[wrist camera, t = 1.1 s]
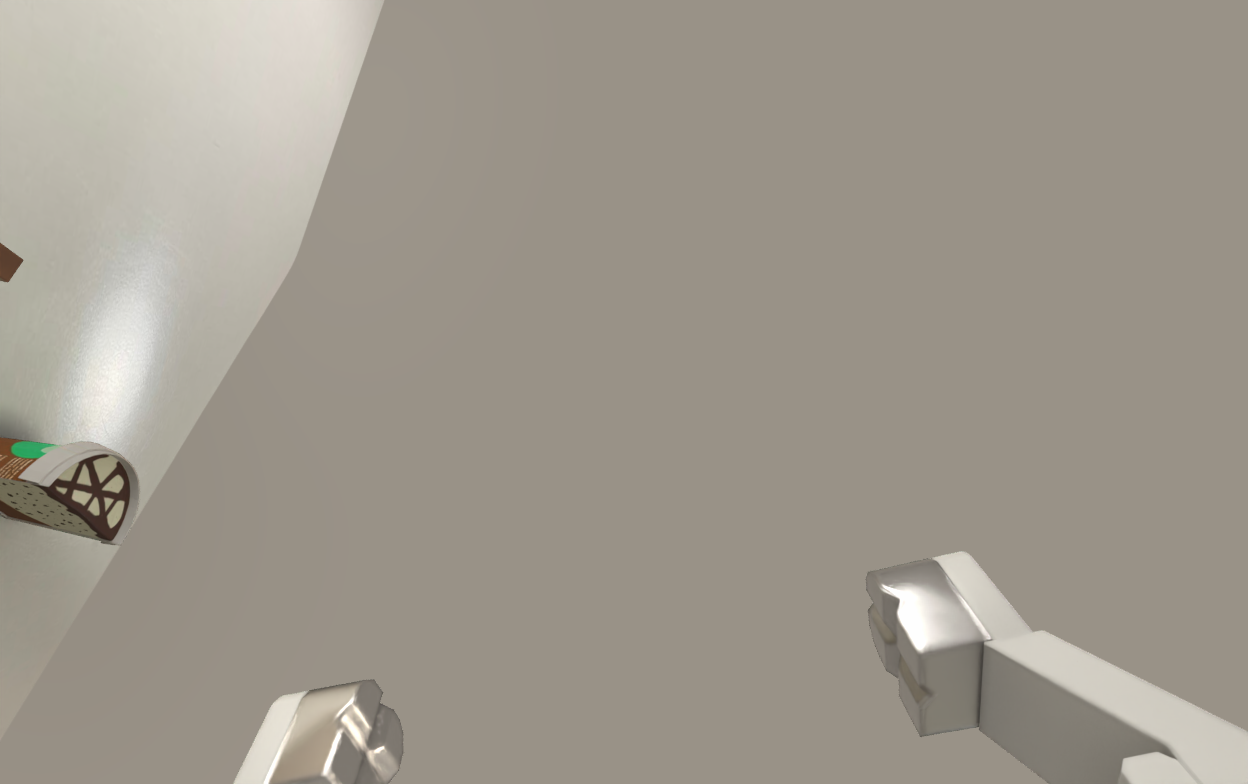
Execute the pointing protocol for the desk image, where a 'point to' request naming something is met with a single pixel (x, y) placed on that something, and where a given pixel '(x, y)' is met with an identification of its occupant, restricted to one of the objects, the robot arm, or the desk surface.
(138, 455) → the desk surface
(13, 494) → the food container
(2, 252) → the miniature wooden chair
